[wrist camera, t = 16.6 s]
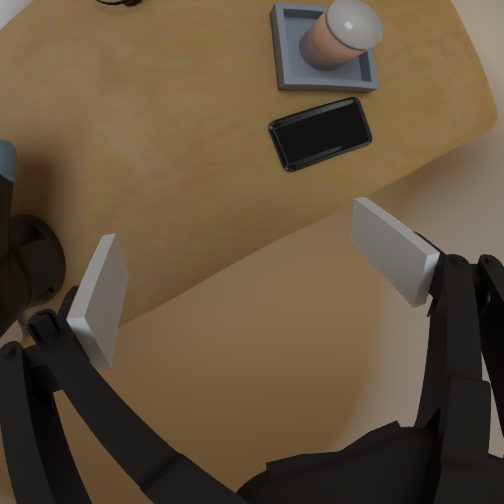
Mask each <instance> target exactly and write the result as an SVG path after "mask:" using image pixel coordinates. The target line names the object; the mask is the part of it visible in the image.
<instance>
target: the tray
mask: <svg viewBox="0 0 504 504" xmlns="http://www.w3.org/2000/svg"><path fill="white" fill-rule="evenodd" d="M328 8H329V7H324V6H315V5H304V4H290V3H275V4H274V6H273V8H272V10H271V12H270V20H271V28H272V36H273V45H274V54H275V64H276V73H277V83H278V90H327V91H346V92H360V93H367V92H370V91H374V90H377V89H378V82H377V74H376V67H375V60H374V54H373V48H371V49H369V50H367V51H365V52H364V53H362V54H360V55H358V56H356V57H355V58H353V59H351V60H349V61H348V62H346V63H344V64H343V65H341V66H339V67H337V68H336V69H334V70H331V71H321V70H317V69H315V68H313V67H311V66H310V65H308V64H307V63H306V62H305V61H304V59H303V58H302V56H301V54H300V51H299V42H300V40H301V38H302V36H303V35H304V34H305V33H306V32H307V31H308V30H309V28H310V27H311V26H312V25H313V24H314V23H315V22H316V21H317V20H318V18H319V17H320V16H321V15H322V14H323V13H324V12H325V11H326V10H327V9H328Z"/></svg>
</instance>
